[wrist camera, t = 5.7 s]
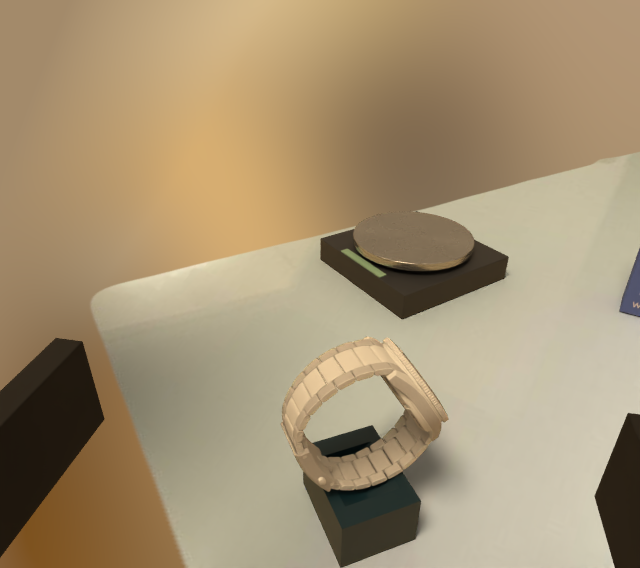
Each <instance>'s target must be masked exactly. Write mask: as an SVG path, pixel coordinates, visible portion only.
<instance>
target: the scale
mask: <svg viewBox="0 0 640 568" xmlns="http://www.w3.org/2000/svg"><path fill="white" fill-rule="evenodd" d="M416 212H417V211H416ZM353 232H354V229H353V230H349V231H346V232H342V233H339V234H335V235H332V236H328V237H325V238H321V260H323V261H324V262H325V263H327V264H328V265H329V266H331V267H332V268H333V269H335V270H336V271H338V272H339V273H340V274H342V275H343V276H344V277H346V278H347V279H348V280H350V281H351V282H353V283H354V284H355V285H357V286H358V287H359V288H361V289H362V290H363V291H365V292H366V293H367V294H369V295H370V296H372V297H373V298H374V299H376V300H377V301H378V302H380V303H381V304H382V305H384V306H385V307H387V308H388V309H389V310H391V311H392V312H393V313H395V314H396V315H397V316H399V317H400V318H401V319H404V318H406V317H409V316H411V315H414V314H416V313H419V312H421V311H424V310H426V309H429V308H431V307H434V306H436V305H439V304H441V303H444V302H446V301H449V300H451V299H454V298H456V297H459V296H461V295H464V294H466V293H469V292H471V291H474V290H476V289H478V288H481V287H483V286H486V285H488V284H491V283H493V282H496V281H498V280H501V279H503V278H504V277H505V272H506V267H507V263H508V258H509V257H508V256H506V255H504V254H502V253H500V252H498V251H496V250H494V249H492V248H490V247H488V246H486V245H484V244H482V243H480V242H478V241H476V240H474V249H473V252H472V255H471V256H470V257H469V258H468V259H467V260H466V261H465V262H463V263H461V264H459V265H457V266H454V267H451V268H448V269H443V270H436V271H408V270H400V269H395V268H391V267H387V266H383V265H381V264H378V263H375V262H373V261H371V260H369V259H367V258H366V257H364V256H363V255H362V254H360V253H359V252H358V251H357V249H356V248H355V246H354V243H353Z"/></svg>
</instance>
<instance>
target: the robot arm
mask: <svg viewBox="0 0 640 568" xmlns="http://www.w3.org/2000/svg"><path fill="white" fill-rule="evenodd" d="M103 420H104V416H103V412H102V409H101V405H100V402H99V398H98V395H97V391H96V388H95V384H94V381H93V377H92V374H91V370H90V367H89V363H88V359H87V356H86V352H85V349H84V346H83V342H82V341H74V340H67V339H59V338H56V339H55V340H54V341H52V343H50V344H49V345H48V346H47V347H46V348H45V349H44V350H43V351H42V352H41V353H40V354H39V355H38V356H37V357H36V358H35V359H34V360H33V361H31V362H30V363H29V364H28V365H27V366H26V367H25V368H24V369H23V370H22V371H21V372H20V373H19V374H18V375H17V376H16V377H15V378H14V379H13V380H12V381H10V383H9V384H7V385H6V386H5V387H4V388H3V389H2V390H1V391H0V557H1V556H2V554H3V553H4V552H5V551H6V549H7V548H8V547H9V545H10V544H11V542H12V541H13V540H14V539H15V537H16V536H17V535H18V533H19V532H20V531H21V529H22V528H23V526H24V525H25V524H26V523H27V521H28V520H29V519H30V517H31V516H32V515H33V513H34V512H35V511H36V509H37V508H38V507H39V505H40V504H41V503H42V501H43V500H44V499H45V497H46V496H47V495H48V493H49V492H50V491H51V489H52V488H53V487H54V485H55V484H56V483H57V481H58V480H59V479H60V477H61V476H62V475H63V474H64V472H65V471H66V470H67V468H68V467H69V465H70V464H71V463H72V462H73V460H74V459H75V458H76V456H77V455H78V454H79V452H80V451H81V449H82V448H83V447H84V446H85V444H86V443H87V442H88V440H89V439H90V438H91V436H92V435H93V434H94V432H95V431H96V430H97V428H98V427H99V426H100V424H101V423H102V422H103ZM595 499H596V503H597V506H598V510H599V513H600V517H601V520H602V524H603V527H604V531H605V534H606V538H607V542H608V545H609V549H610V552H611V556H612V559H613V563H614V566H615V568H640V415H639V414H631V413H628V414H627V417H626V419H625V422H624V424H623V427H622V429H621V432H620V434H619V437H618V439H617V442H616V444H615V446H614V449H613V451H612V454H611V456H610V459H609V461H608V464H607V466H606V469H605V471H604V474H603V476H602V479H601V481H600V484H599V486H598V489H597V491H596V494H595Z"/></svg>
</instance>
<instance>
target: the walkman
mask: <svg viewBox="0 0 640 568" xmlns="http://www.w3.org/2000/svg"><path fill="white" fill-rule="evenodd" d="M620 311H621V312H625V313H628V314H632V315H636V316H639V317H640V249H639V251H638V254H637V257H636V260H635V263H634V266H633V269H632V271H631V274H630V277H629V280H628V283H627V286H626V289H625V292H624V294H623V297H622V302H621V307H620Z"/></svg>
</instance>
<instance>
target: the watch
mask: <svg viewBox="0 0 640 568" xmlns="http://www.w3.org/2000/svg"><path fill="white" fill-rule="evenodd" d="M383 341H384V342H383V343H380V342H379V341H378V340H376V339H374V338H371V337H365V338H364V339H362V340H357V341H354V342H348V343H345V344H342V345H339V346H337V347H336V349H335V348H332V349H330V350H328V351H327V352H325V353H324V354H322V355H321V356H319V359H320V360H319V359H318V358H316V359H315V360H313V361H312V362H311V363H310V364H309V365H308V366H307V367H306V368H305V369H304V371H302V372H301V373H300V374H299V376H298V377H297V378H296V379H295V381H294V382H293V384H292V387H290V389H289V391H288V392H287V395H286V397H285V400H284V401H285V402H284V403H283V408H282V414H283V415H282V419H283V422H282V423H281V426H282V428H283V430H284V433H285V435H286V437H287V439H288V442H289V444H290V446H291V448H292V451H293V453H294V455H295V457H296V460H297V462H298V463H299V465H300V467H301V468H302V470H303V481H304V485H305V488H306V490H307V492H308V494H309V497H310V499H311V501H312V504H313V506H314V508H315V510H316V513H317V515H318V517H319V520H320V522H321V524H322V526H323V529H324V531H325V533H326V536H327V538H328V540H329V542H330V545H331V547H332V549H333V552H334V554H335V556H336V558H337V561H338V563H339V565H340V568H341V567H343V566H346V565H349V564H351V563H354V562H357V561H359V560H362V559H364V558H367V557H370V556H372V555H375V554H377V553H380V552H383V551H385V550H388V549H390V548H393V547H396V546H398V545H401V544H404V543H406V542H409V541H411V540H414V539H415V536H416V530H417V523H418V517H419V511H420V504H421V500H420V499H419V497H418V496H417V494H416V493H415V491H414V489H413V488H412V486H411V485H410V483H409V482H408V480H407V478H406V477H405V475H404V474H403V472H402V471H403V469H406V468H407V467H409V466H410V465H411V464H412V463H413V462H414V461H416V459H417V458H418V457H419V456H420V455H421V454H422V453H423V452H424V451H425V450H426V448H427V447H428V444H430V442H431V441H434V440H435V439H436V438H438V436H439V434H440V431H441V422H442V421H443V422H446V421H447V420H448V416H447V414H446V412H445V410H444V408H443V406H442V405H441V403H440V401H439V400H438V398H437V397H436V395H435V394H434V392H433V391H432V390H431V388H430V387H429V385H428V384H427V383H426V381H425V380H424V379H423V377H422V376H421V375H420V373H419V372H418V371H417V369H416V368H415V367H414V365H413V364H412V363H411V362H410V360H409V359H408V358H407V357H406V356H405V354H404V353H403V351H402V350H400V349H399V348H398V347H397V345H395V344H394V343H393V342H392V341H391V340H390V339H389V338H386V339H384V340H383ZM320 361H321V362H322V363H321V362H320ZM337 362H338V363H337ZM339 365H340V366H339ZM341 368H342V369H341ZM319 371H320V372H319ZM343 371H344V372H343ZM320 373H321V374H322V375H321V374H320ZM344 373H345V374H344ZM374 374H375V375H376V376H379V375H381V377H382V378H383V380H384V381H385V382H386V384H387V385H388V386H389V388H390V389H391V391H392V392H393V393H394V395H395V396H396V397H397V399H398V400H399V402H400V403H401V404H402V406H403V407H404V408H405V411H404V415H402V416H401V417H400V419H399V420H398V422H397V423H396V424H395V428H392V429H391V430H390V431H389V432H388V433H387V434H386V435H385V436H384V437H383V439H384V440H385V441H384V440H383V439H381V438H380V436H379V435H378V433H377V432H376V430H375V429H374V427H373V425H371V426H368V427H365V428H361V429H358V430H355V431H351V432H348V433H344V434H341V435H338V436H334V437H331V438H328V439H324V440H321V441H318V442H314V443H311V442H310V441H309V440H308V439H307V438H306V436H305V434H304V432H303V430H304V429H305V427H306V425H307V423H308V421H309V420H310V415H313V414H314V413H315V412H316V410H317V409H318V408H319V407H320V406H321V405H322V402H325V401H327V400H328V399H329V398H331V397H332V396H333V395H335V394H336V393H337V392H338V390H337V388H338V389H339V390H341V389H343V388H345V387H347V386H349V385H351V384H353V383H354V382H355V379H356V380H357V381H360V380H363V379H366V378H370V377H372V376H373V375H374ZM322 376H323V377H322ZM323 378H324V379H323ZM325 381H326V382H325ZM326 383H327V384H326ZM335 385H336V386H335ZM336 387H337V388H336ZM396 439H397V440H398V441H397V440H396ZM385 442H386V443H385ZM399 443H400V444H399ZM401 446H402V447H401ZM403 449H404V450H403ZM405 452H406V453H405ZM416 457H417V458H416ZM400 465H401V466H400ZM401 467H402V468H403V469H402V468H401Z"/></svg>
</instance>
